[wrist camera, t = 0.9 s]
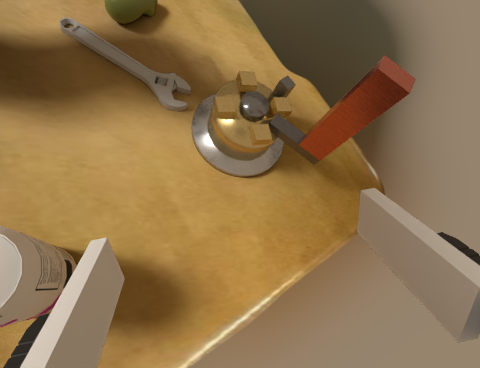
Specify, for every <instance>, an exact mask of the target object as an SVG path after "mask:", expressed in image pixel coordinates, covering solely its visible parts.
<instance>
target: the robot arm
mask: <svg viewBox="0 0 480 368" xmlns="http://www.w3.org/2000/svg"><path fill="white" fill-rule="evenodd" d="M357 233H358V234H359V235H360V236H361V237H362V238H363V239H364V241H365V242H366V243H367V244H368V245H369V246H370V247H371V248H372V249H373V250H374V251H375V253H376V254H377V255H378V256H379V257H380V258H381V259H382V260H383V261H384V262H385V264H386V265H387V266H388V267H389V268H390V269H391V270H392V271H393V272H394V273H395V275H396V276H397V277H398V278H399V279H400V280H401V281H402V282H403V283H404V284H405V286H406V287H407V288H408V289H409V290H410V291H411V292H412V293H413V294H414V295H415V297H416V298H417V299H418V300H419V301H420V302H421V303H422V304H423V305H424V306H425V307H426V308H427V310H428V311H429V312H430V313H431V314H432V315H433V316H434V317H435V318H436V320H437V321H438V322H439V323H440V324H441V325H442V326H443V327H444V328H445V329H446V331H447V332H448V333H449V334H450V335H451V336H452V337H453V338H454V339H455V340H456V341H457V343H460V342H464V341H468V340H473V339H477V338H478V336H479V334H480V256H479V254H478V253H476V252H475V251H474V250H472V249H469V247H468V246H467V245H465V244H464V243H462V242H461V241H459V240H458V239H456V238H454V237H452V236H449V235H447V234H444V233H443V232H441V233H437V234H436V233H435V232H434V231H432V230H431V229H429V228H428V227H427V226H425V225H424V224H423V223H421V222H420V221H419V220H417V219H416V218H414V217H413V216H412V215H410V214H409V213H408V212H407V211H405V210H404V209H402V208H401V207H400V206H398V205H397V204H396V203H394V202H393V201H392V200H390V199H389V198H388V197H386V196H385V195H384V194H382V193H381V192H380V191H378V190H377V189H376V188H370V189H365V190H361V195H360V205H359V216H358V227H357ZM124 280H125V278H124V275H123V273H122V271H121V268H120V266H119V264H118V261H117V259H116V257H115V254H114V252H113V250H112V247H111V245H110V243H109V240H108V238H102V239H97V240H91V242H90V244H89V245H88V247H87V249H86V251H85V253H84V254H83V256H82V258H81V260H80V261H79V263H78V265H77V267H76V269H75V270H74V272H73V274H72V276H71V278H70V279H69V281H68V283H67V285H66V286H65V288H64V290H63V292H62V294H61V295H60V297H59V299H58V301H57V303H56V304H55V306H54V308H53V310H52V311H51V313H50V314H45V315H40V316H39V317H38V318H37V319H36V320H35V321H34V322H33V323H32V324H31V325H30V327H29V328H28V329H27V330H26V332H25V333H24V335H23V337H22V338H21V340H20V341H19V345H18V346H16V348H15V350H14V351H13V353H12V354H11V358H9V359H8V361H7V363H6V364H5V366H4V367H3V368H97V366H98V363H99V359H100V356H101V353H102V350H103V347H104V344H105V340H106V337H107V334H108V331H109V328H110V324H111V321H112V318H113V315H114V312H115V309H116V305H117V302H118V299H119V296H120V293H121V289H122V286H123V283H124Z"/></svg>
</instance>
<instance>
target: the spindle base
mask: <svg viewBox="0 0 480 368" xmlns="http://www.w3.org/2000/svg"><path fill="white" fill-rule="evenodd" d="M295 85H296V84H295V83H294V82H293V81H292V80H291V79H290V78H289V76H286V77H285V78H283V79H281V80H280V81H279V83H278V84H277V86H276V88H275V89H274V91H273V92H274V93H275V94H276V95H277V96H278V97H287V96H288V95H289V93H290V92H291V91H292V89H293V88H294V86H295ZM216 94H217V93H216ZM216 94H213V95H211V96H209V97H208V98H206V99H205V100H204V101H202V103H201V104H200V105H199V106H198V108H197V109H196V111H195V114H194V117H193V121H192V137H193V141H194V144H195V146H196V148H197V150H198V152H199V153H200V155H201V156H202V157H203V158H204V159H205V160H206V162H208V163H209V164H210V165H211V166H212V167H214V168H215V169H217V170H219V171H221V172H223V173H225V174H228V175H231V176H236V177H252V176H256V175H259V174H262V173H264V172H265V171H267V170H268V169H270V168H271V167H272V166H273V165H274V164H275V163H276V161H277V160H278V159H279V157H280V155H281V152H282V149H283V143H284V142H283V141H282V140H281V139H279V138H278V139H277V140H276V141H275V142H274V143H273V145H272V146H271V147H270V148H269V149H268V150H267V152H266V153H265V154H264V155H262V156H261V157H259V158H257V159H254V160H250V161H241V160H236V159H233V158H230V157H228V156H226V155H225V154H223V153H222V152H220V151H219V150H218V149H217V148H216V147H215V145H214V144H213V143H212V141H211V139H210V137H209V134H208V129H207V123H208V118H209V115H210V112H211V109H212V106H213V101H214V98H215V97H216ZM239 110H240V112H241V114H242V115H243V116H244V117H245V118H246V119H248V120H250V121H260V120H262V119H263V118H264V116H265V115H266V113H267V112H268V110H269V102H268V100H267V98H266V97H265V96H264V95H263V94H261V93H259V92H257V91H249V92H246V93H245V94H244V95H243V97H242V99H241V101H240V104H239Z"/></svg>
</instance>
